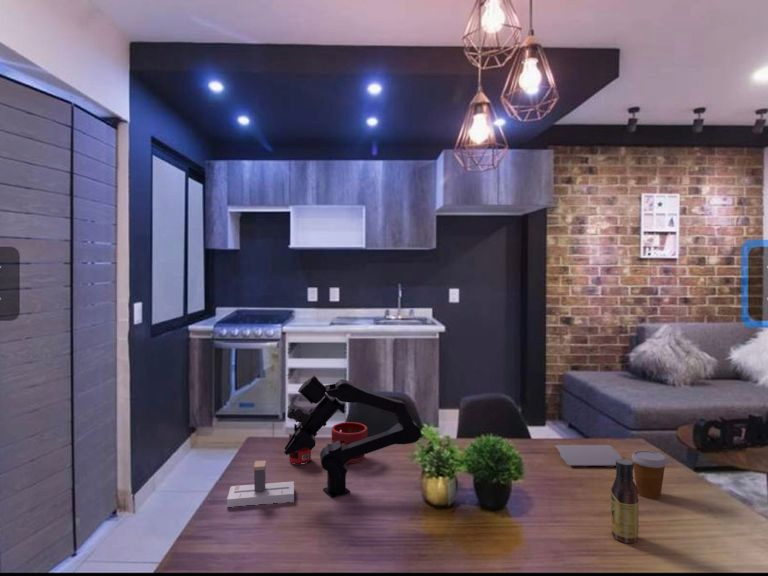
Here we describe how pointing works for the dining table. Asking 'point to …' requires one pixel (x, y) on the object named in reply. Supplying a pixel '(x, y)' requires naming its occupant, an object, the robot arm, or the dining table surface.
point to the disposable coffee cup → (649, 472)
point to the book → (589, 455)
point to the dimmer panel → (261, 494)
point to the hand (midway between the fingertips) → (285, 451)
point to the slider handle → (259, 475)
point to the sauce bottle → (624, 503)
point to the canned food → (299, 454)
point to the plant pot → (349, 435)
